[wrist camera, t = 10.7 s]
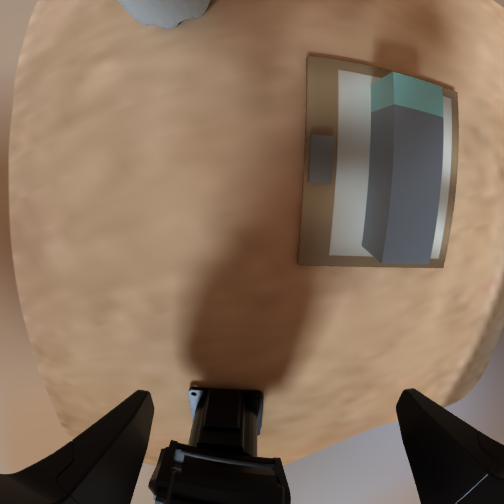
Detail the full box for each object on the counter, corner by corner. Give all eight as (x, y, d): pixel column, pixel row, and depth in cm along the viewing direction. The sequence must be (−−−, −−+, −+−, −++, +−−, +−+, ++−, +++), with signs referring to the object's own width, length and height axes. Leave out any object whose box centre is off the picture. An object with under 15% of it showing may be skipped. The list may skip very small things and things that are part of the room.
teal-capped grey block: (404, 247, 19) (429, 264, 16) (361, 246, 19) (381, 263, 15) (414, 95, 16) (442, 86, 12) (370, 84, 16) (393, 71, 12)
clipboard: (440, 265, 20) (447, 270, 19) (297, 262, 20) (299, 268, 19) (453, 93, 16) (461, 91, 15) (306, 58, 16) (309, 52, 15)
